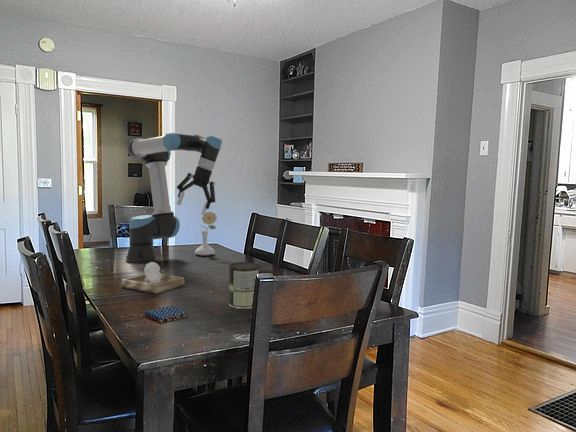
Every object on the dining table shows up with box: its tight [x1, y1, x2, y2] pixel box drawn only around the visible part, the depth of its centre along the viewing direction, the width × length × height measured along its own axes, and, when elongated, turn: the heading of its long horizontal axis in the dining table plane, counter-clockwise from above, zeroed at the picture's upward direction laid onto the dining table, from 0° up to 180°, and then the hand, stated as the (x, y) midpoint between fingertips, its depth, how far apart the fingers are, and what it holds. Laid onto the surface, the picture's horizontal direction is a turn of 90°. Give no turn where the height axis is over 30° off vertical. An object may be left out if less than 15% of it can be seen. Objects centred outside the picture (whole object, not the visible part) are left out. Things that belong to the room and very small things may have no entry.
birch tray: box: [121, 273, 185, 294], centre depth 174 cm, size 18×16×3 cm
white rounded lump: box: [143, 261, 162, 285], centre depth 172 cm, size 6×8×12 cm
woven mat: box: [143, 305, 189, 324], centre depth 137 cm, size 10×11×2 cm
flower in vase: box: [194, 211, 218, 257], centre depth 246 cm, size 13×11×25 cm
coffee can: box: [228, 261, 260, 310], centre depth 151 cm, size 10×10×14 cm
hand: (190, 209), depth 209 cm, fingers open, 13 cm apart
